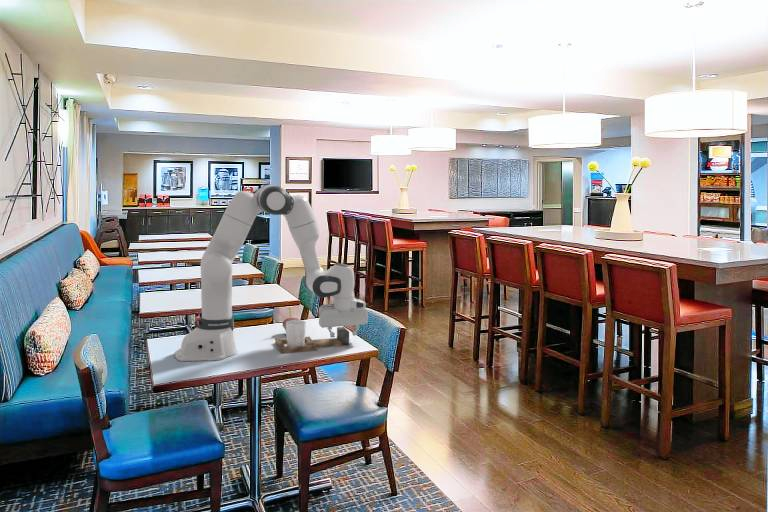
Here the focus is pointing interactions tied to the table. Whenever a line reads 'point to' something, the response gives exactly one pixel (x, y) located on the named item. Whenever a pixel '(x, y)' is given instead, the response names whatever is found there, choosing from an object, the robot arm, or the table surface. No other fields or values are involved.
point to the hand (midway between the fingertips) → (343, 336)
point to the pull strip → (316, 342)
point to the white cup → (295, 333)
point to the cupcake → (288, 319)
